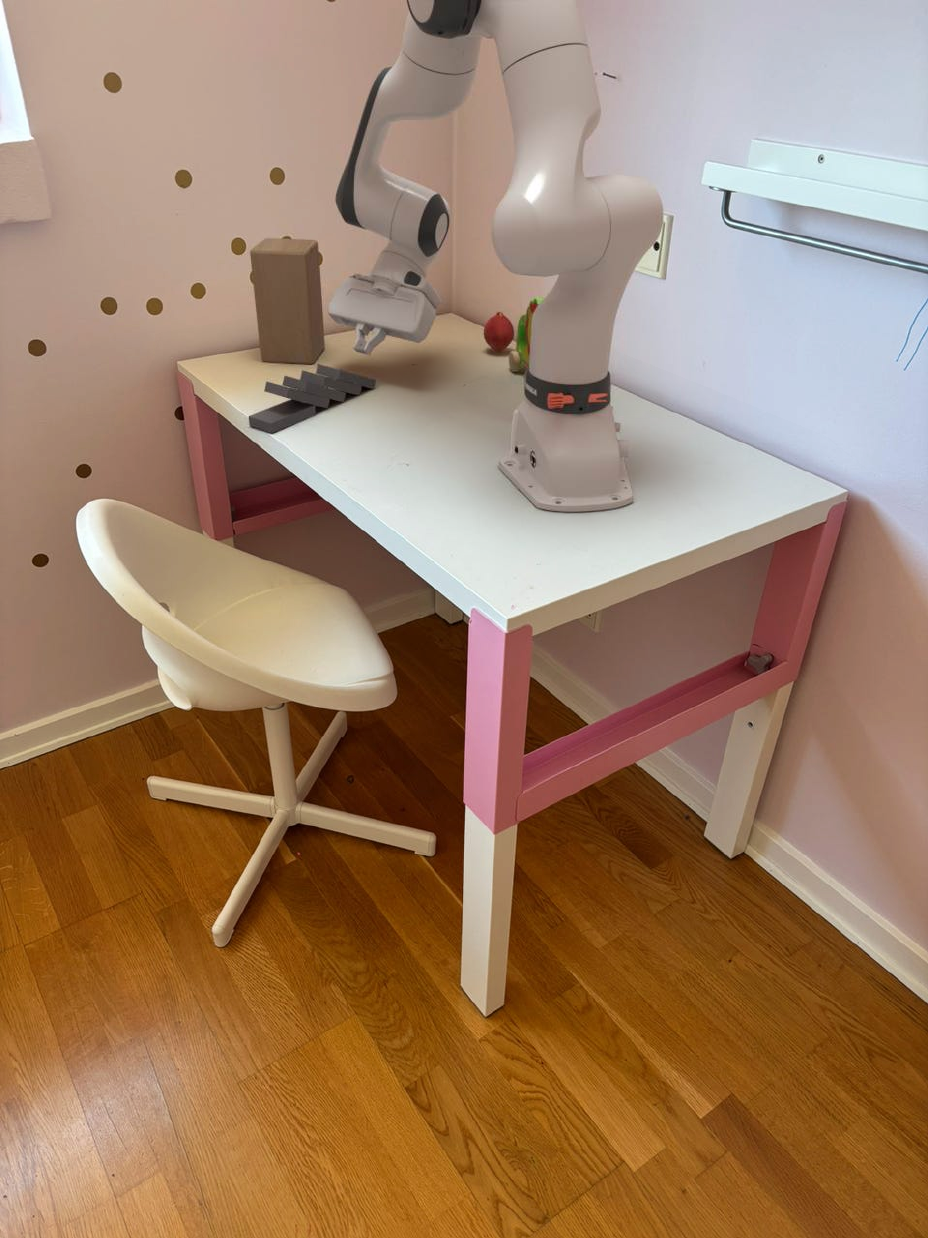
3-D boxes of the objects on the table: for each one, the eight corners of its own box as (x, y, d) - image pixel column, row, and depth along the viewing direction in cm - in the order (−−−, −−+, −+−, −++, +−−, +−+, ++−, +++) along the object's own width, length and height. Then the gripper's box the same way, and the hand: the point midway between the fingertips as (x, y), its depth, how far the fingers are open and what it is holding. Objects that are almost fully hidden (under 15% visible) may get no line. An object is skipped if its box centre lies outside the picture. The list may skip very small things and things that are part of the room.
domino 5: (354, 373, 168) (317, 363, 159) (376, 379, 166) (340, 369, 157) (351, 383, 168) (315, 373, 160) (373, 389, 166) (338, 379, 157)
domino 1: (307, 392, 160) (266, 381, 151) (329, 398, 157) (289, 387, 149) (305, 402, 160) (264, 391, 151) (327, 408, 158) (286, 398, 149)
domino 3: (323, 386, 162) (284, 375, 154) (346, 392, 160) (307, 381, 151) (321, 396, 163) (282, 385, 154) (343, 402, 160) (304, 392, 152)
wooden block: (325, 347, 184) (318, 239, 173) (313, 364, 176) (305, 251, 165) (275, 345, 185) (264, 237, 174) (260, 362, 177) (248, 249, 165)
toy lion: (506, 368, 176) (509, 284, 168) (534, 366, 177) (539, 282, 169) (532, 398, 163) (537, 309, 155) (562, 396, 164) (568, 307, 156)
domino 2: (292, 398, 157) (248, 416, 150) (315, 405, 155) (271, 423, 148) (293, 408, 158) (249, 426, 151) (315, 414, 156) (272, 433, 149)
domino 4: (339, 380, 165) (302, 370, 157) (361, 386, 163) (324, 376, 154) (337, 389, 166) (299, 380, 157) (359, 395, 163) (322, 386, 155)
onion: (481, 347, 186) (482, 305, 181) (510, 346, 186) (512, 305, 182) (485, 357, 181) (486, 314, 177) (515, 356, 182) (517, 314, 177)
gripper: (340, 261, 167) (306, 330, 166) (434, 280, 157) (398, 354, 156) (358, 282, 173) (325, 349, 171) (449, 302, 163) (415, 373, 162)
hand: (361, 351), depth 164 cm, fingers closed
